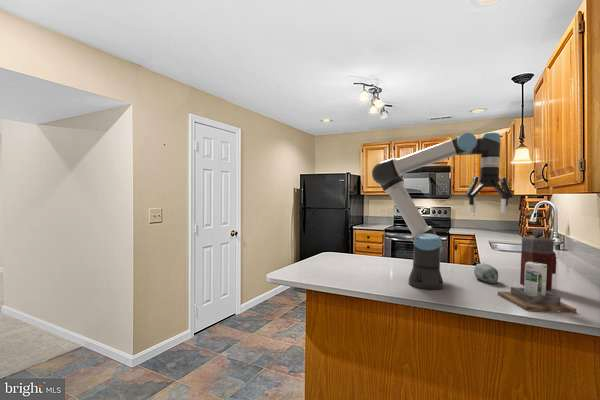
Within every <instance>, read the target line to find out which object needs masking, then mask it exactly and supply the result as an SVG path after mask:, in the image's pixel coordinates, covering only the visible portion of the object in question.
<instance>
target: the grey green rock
mask: <svg viewBox="0 0 600 400" xmlns="http://www.w3.org/2000/svg"><path fill="white" fill-rule="evenodd" d="M473 273H474V276H475V278H477V279H479V280H481V281H482V282H484V283H489V284H496V283H497V282H498V280H499V271H498V270H497V268H495V267H494V266H492V265H491V264H488V263H477V264H475V266H474V268H473Z"/></svg>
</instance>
